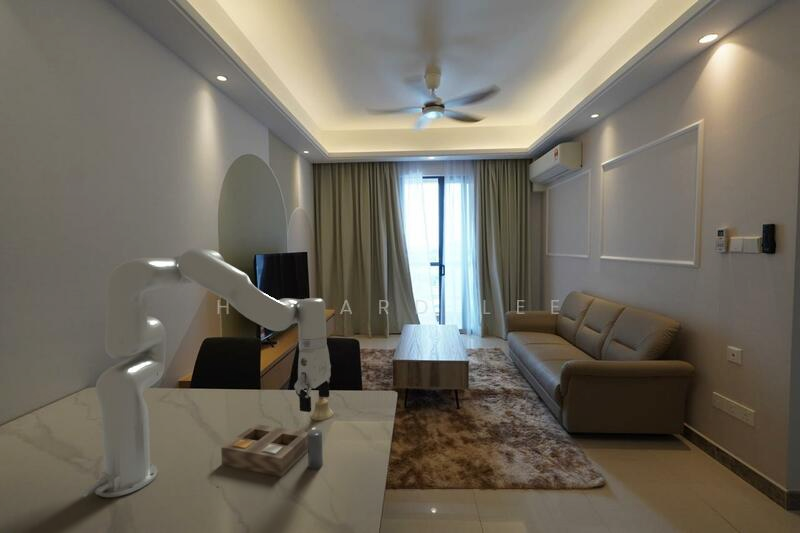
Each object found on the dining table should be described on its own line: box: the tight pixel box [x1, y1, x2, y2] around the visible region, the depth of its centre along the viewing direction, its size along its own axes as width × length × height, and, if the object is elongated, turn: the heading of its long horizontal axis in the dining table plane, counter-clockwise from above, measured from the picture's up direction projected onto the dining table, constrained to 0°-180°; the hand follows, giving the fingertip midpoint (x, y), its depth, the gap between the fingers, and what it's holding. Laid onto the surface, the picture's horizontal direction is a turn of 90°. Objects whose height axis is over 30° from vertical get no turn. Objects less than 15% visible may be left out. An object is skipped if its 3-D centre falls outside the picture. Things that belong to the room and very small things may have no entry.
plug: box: [307, 429, 324, 470], centre depth 98 cm, size 4×4×9 cm
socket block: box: [220, 423, 310, 477], centre depth 103 cm, size 20×14×5 cm
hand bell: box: [310, 387, 334, 421], centre depth 129 cm, size 8×8×16 cm
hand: (315, 403), depth 97 cm, fingers open, 9 cm apart
